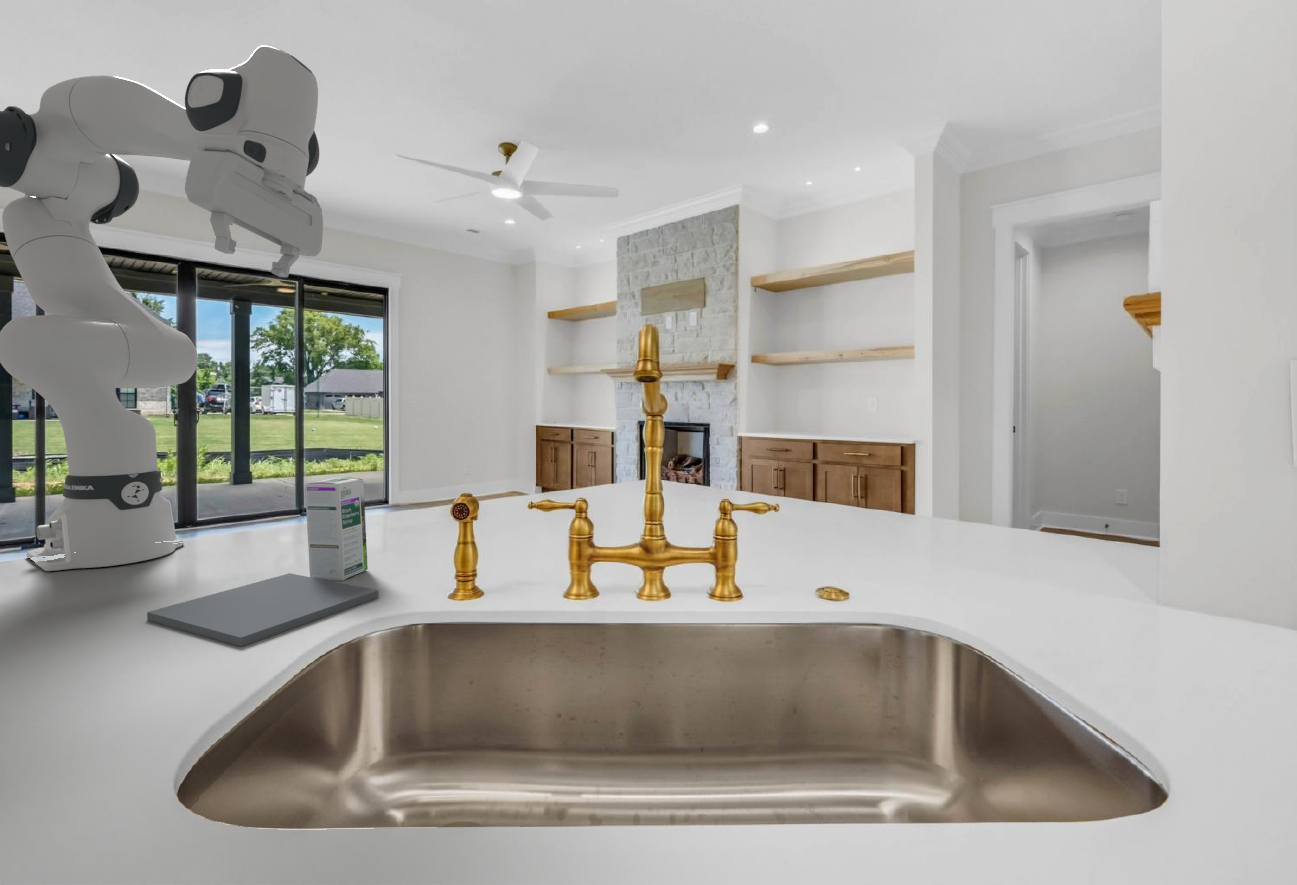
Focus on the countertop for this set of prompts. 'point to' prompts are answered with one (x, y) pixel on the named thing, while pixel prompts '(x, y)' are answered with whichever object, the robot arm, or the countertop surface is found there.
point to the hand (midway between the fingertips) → (253, 264)
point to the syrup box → (336, 528)
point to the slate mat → (261, 608)
